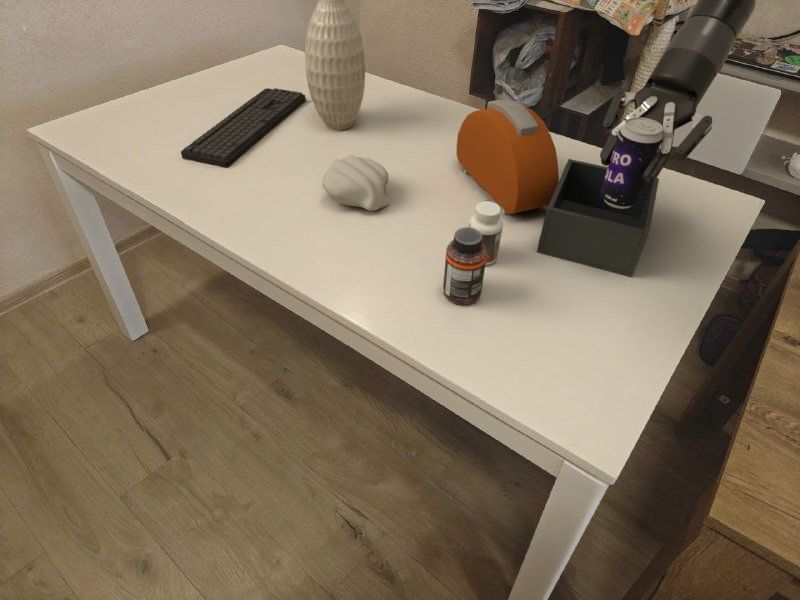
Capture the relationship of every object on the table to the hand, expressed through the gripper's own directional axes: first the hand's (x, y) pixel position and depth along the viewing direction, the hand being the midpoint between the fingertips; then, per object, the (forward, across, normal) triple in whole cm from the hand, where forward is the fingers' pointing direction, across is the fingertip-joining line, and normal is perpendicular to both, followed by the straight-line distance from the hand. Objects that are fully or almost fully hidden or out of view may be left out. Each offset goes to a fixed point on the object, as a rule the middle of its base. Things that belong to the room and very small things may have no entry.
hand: (624, 171), depth 77 cm
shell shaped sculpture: (+22, -43, +4) cm, 48 cm away
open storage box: (+7, -5, +19) cm, 21 cm away
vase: (+9, -68, +18) cm, 71 cm away
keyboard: (+20, -82, +7) cm, 85 cm away
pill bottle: (+20, -15, +6) cm, 26 cm away
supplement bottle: (+27, -12, -1) cm, 29 cm away
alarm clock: (+6, -25, +20) cm, 33 cm away
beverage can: (+3, 0, +5) cm, 6 cm away
